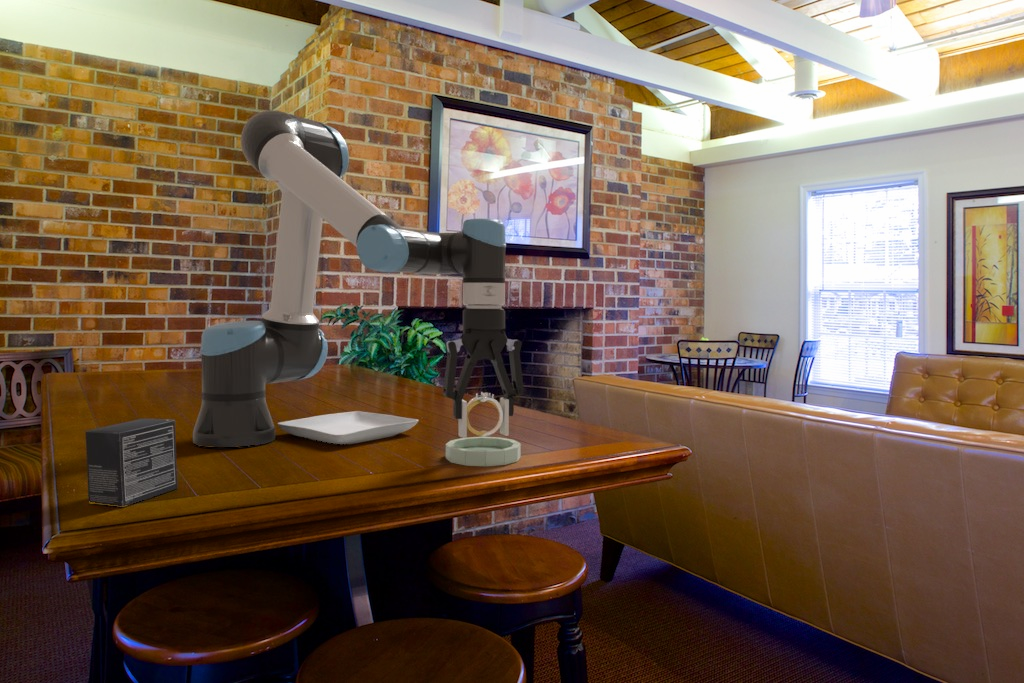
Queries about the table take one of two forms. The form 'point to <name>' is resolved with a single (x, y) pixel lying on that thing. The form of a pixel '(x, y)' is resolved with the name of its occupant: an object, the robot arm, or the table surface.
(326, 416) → the salad plate
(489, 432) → the bracelet
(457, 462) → the ring dish
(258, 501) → the table surface
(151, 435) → the small box
